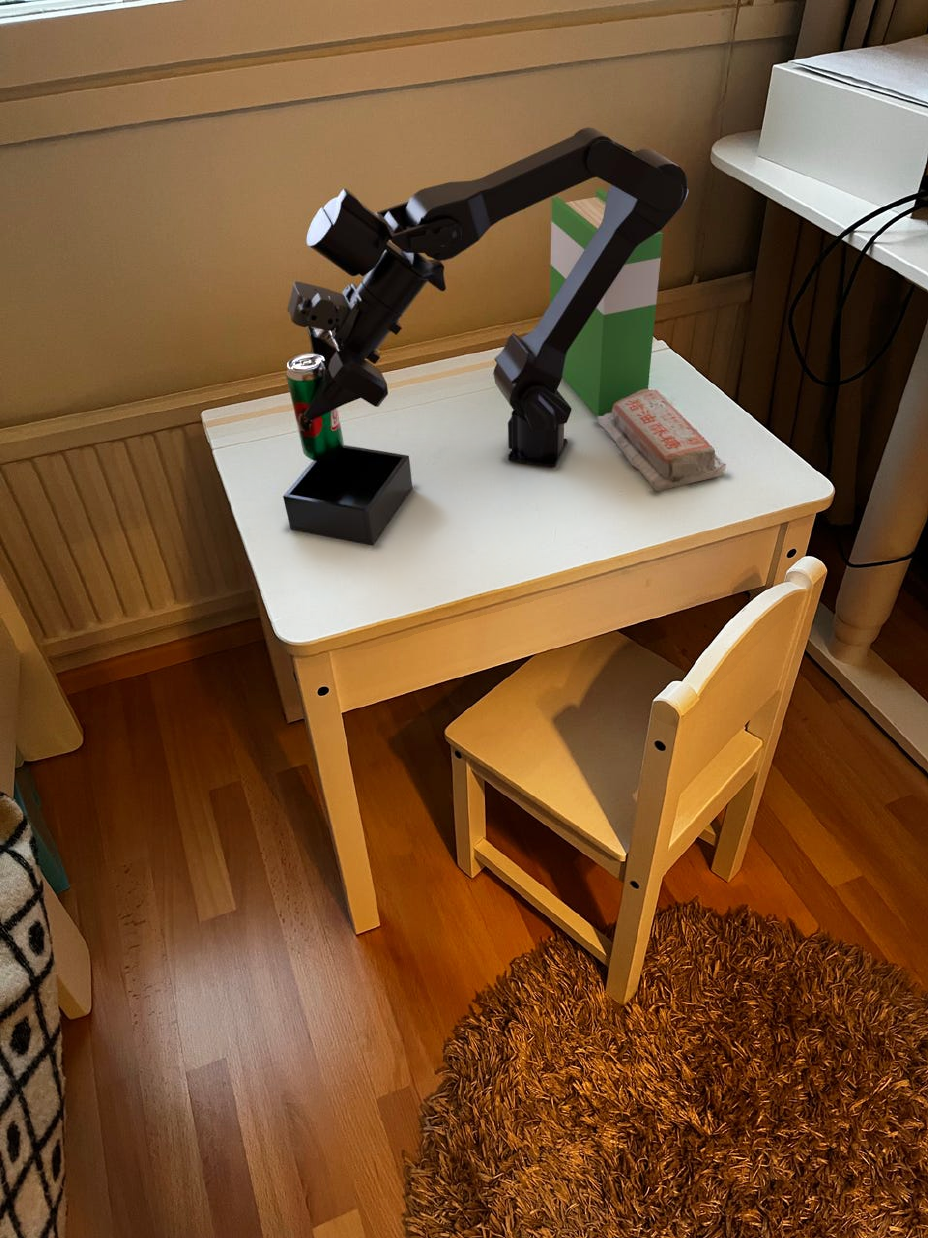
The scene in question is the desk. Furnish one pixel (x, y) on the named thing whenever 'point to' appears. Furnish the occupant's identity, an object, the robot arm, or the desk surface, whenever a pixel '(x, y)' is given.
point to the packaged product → (660, 441)
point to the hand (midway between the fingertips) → (303, 406)
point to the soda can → (303, 380)
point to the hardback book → (606, 309)
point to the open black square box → (349, 494)
